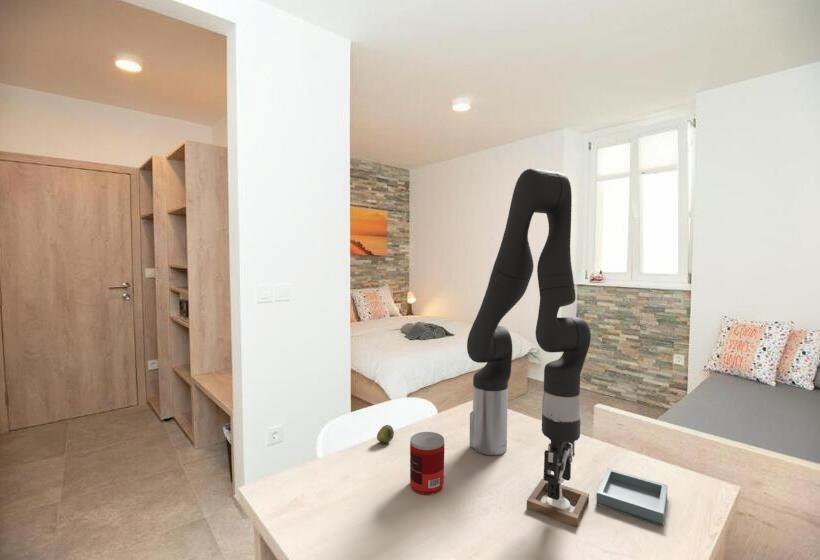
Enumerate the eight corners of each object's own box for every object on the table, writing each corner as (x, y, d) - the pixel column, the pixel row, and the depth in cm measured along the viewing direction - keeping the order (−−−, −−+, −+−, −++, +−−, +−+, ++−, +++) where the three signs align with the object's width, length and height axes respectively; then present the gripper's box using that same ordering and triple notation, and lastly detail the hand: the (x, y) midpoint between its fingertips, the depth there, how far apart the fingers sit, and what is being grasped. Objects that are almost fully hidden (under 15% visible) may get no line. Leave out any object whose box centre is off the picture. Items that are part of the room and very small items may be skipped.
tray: (596, 504, 86) (596, 492, 86) (607, 478, 96) (607, 468, 96) (662, 526, 79) (663, 513, 79) (667, 496, 89) (667, 485, 89)
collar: (526, 508, 85) (526, 500, 84) (541, 486, 93) (542, 478, 93) (577, 527, 79) (577, 518, 79) (588, 501, 87) (589, 493, 87)
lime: (375, 445, 112) (375, 427, 112) (380, 437, 117) (380, 420, 117) (391, 447, 111) (391, 429, 111) (395, 439, 116) (395, 422, 116)
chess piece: (572, 514, 83) (574, 466, 82) (547, 511, 84) (548, 464, 83) (568, 499, 88) (569, 454, 87) (544, 497, 89) (545, 452, 88)
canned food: (448, 480, 95) (449, 434, 94) (436, 499, 88) (436, 450, 87) (418, 473, 98) (418, 428, 97) (404, 490, 91) (404, 443, 90)
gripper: (552, 399, 92) (551, 468, 93) (531, 420, 81) (530, 498, 82) (588, 406, 88) (586, 478, 89) (571, 429, 76) (569, 512, 77)
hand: (559, 488), depth 85 cm, fingers open, 8 cm apart
